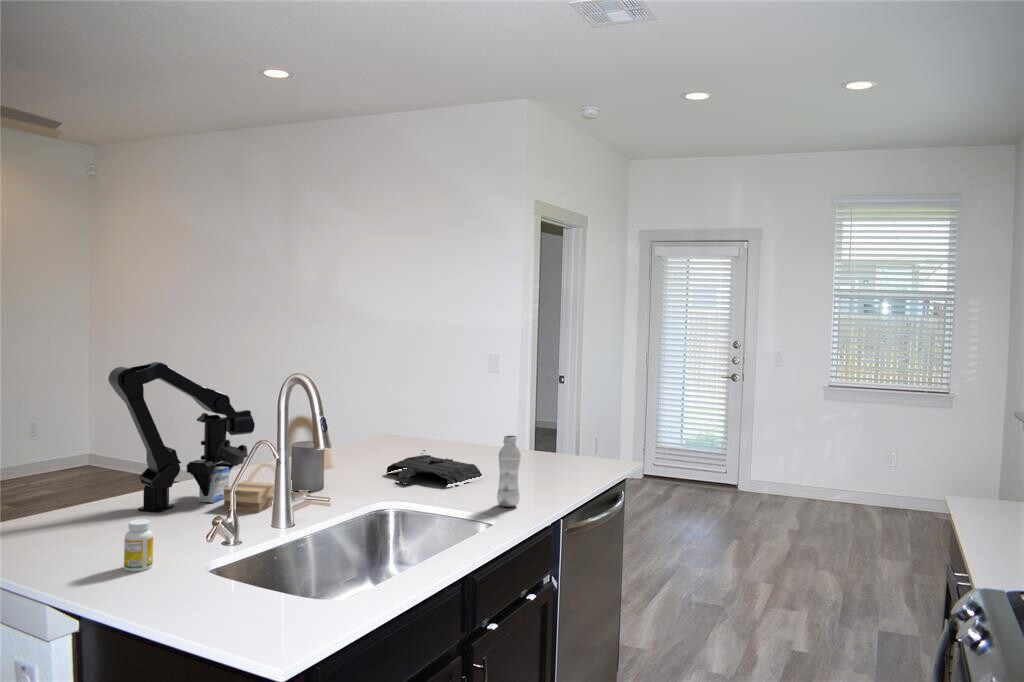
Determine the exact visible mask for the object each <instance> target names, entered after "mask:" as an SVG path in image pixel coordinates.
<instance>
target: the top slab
mask: <svg viewBox="0 0 1024 682" xmlns="http://www.w3.org/2000/svg"><path fill="white" fill-rule="evenodd" d="M237 484H238V485H237V487H236V491H235V495H236V501H238V502H249V503H260V502H262V501H264V500H266V499H268V498H271V497H273V493H274V484H275V483H271V482H270V483H268V482H258V481H245V480H244V481H241V482H238V483H237ZM232 486H233V485H231V486H229V487H228V488H226V489H224V499H223V501H225V500H226V501H230V492H231V487H232Z"/></svg>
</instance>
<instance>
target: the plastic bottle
mask: <svg viewBox="0 0 1024 682" xmlns="http://www.w3.org/2000/svg"><path fill="white" fill-rule="evenodd" d="M517 443H518V442H517V436H516V435H513V434H511V435H509V434H508V435H504V436H503V446H502V447H501V448H500V450H499V451H498V455H497V456H498V463H499V464H498V465H499V481H498V489H497V492H496V493H497V494H496V500H497V504H498V505H499V506H501V507H505V506H506V508H510V507H511V508H512V507H515V506H517V505H519V502H520V498H521V497H520V491H519V469H520V463H521V457H522V455H521V452H520V450H519V447H518V446H517Z"/></svg>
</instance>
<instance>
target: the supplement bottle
mask: <svg viewBox="0 0 1024 682" xmlns="http://www.w3.org/2000/svg"><path fill="white" fill-rule="evenodd" d="M150 528H151V521H150V520H149V519H134V520H131V521H129V522H128V530H129V531H128V532H126V533H125V534H124V546H123V547H124V548H123V550H124V551H123V553H124V554H123V556H124V558H123V569H124V570H125V571H126V572H131V573H133V572H134V573H137V572H142V571H147V570H149V569H150V568H152V567H153V565H154V564H153V561H154V559H153V558H154V533H153V531H152V530H150Z"/></svg>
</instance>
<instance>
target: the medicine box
mask: <svg viewBox="0 0 1024 682" xmlns="http://www.w3.org/2000/svg"><path fill="white" fill-rule="evenodd" d="M213 472H215V474H214V475H213V476H212V477H211V480H210V488H209V494H208V496H204V495H203V493H202V491H201V489H200V487H199V486H198V487H199V489H198V491H199V496H198V497H199V499H198V501H199V503H206V502H210V503H209V504H215V503H218V502H219V500H220V501H221V499H222V500H224V489H226V488H228V487H230V473H229V467H224V466H216V467H214V470H213ZM214 502H215V503H214Z"/></svg>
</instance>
